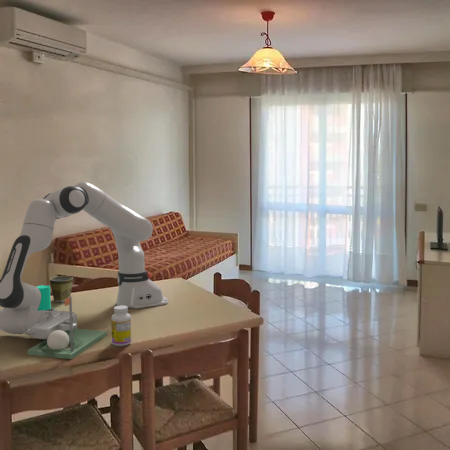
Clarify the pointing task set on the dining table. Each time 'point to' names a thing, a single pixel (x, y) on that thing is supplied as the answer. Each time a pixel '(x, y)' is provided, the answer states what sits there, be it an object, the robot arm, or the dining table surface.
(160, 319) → the dining table surface
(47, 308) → the candle
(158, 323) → the dining table surface
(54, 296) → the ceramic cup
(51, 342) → the ball
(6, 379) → the dining table surface
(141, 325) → the dining table surface
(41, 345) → the green
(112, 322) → the supplement bottle
